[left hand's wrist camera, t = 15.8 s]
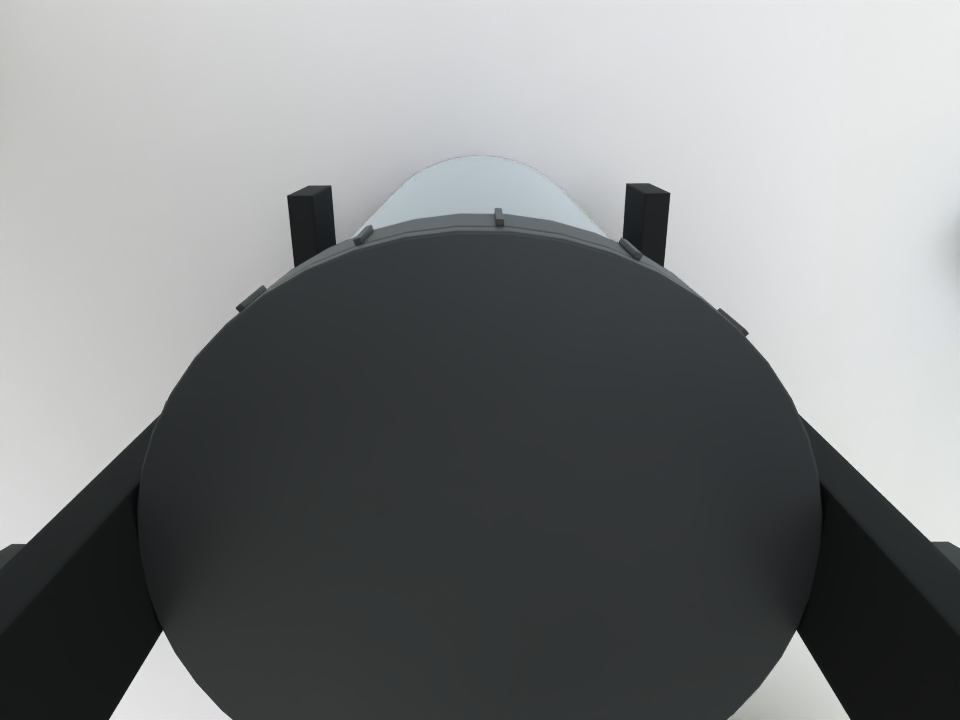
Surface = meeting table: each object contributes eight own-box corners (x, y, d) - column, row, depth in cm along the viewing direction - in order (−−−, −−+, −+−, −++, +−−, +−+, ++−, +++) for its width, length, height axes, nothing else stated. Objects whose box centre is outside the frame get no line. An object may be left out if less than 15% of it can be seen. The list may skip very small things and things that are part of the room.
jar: (328, 200, 28) (55, 373, 10) (559, 121, 27) (719, 154, 9) (411, 407, 31) (318, 820, 13) (619, 344, 30) (828, 700, 12)
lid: (58, 329, 11) (-9, 365, 9) (717, 106, 10) (760, 107, 8) (318, 783, 14) (299, 862, 13) (824, 659, 13) (868, 731, 12)
